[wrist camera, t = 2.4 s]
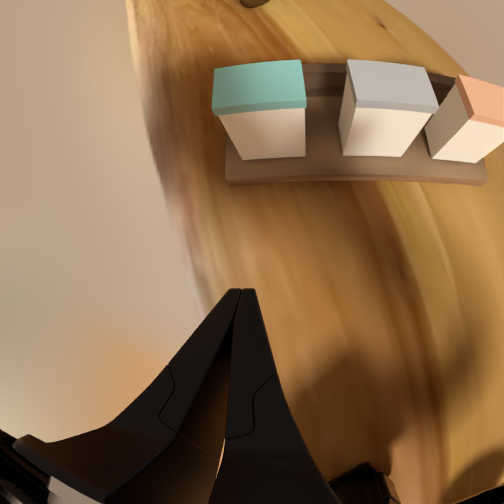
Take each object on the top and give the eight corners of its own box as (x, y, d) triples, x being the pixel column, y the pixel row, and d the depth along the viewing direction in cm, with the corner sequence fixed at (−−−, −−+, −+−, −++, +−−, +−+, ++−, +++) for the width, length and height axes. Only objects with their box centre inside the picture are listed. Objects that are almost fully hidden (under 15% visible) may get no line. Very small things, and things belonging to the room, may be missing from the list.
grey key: (402, 158, 20) (439, 107, 12) (341, 156, 21) (356, 99, 13) (395, 124, 20) (424, 67, 12) (337, 122, 21) (346, 59, 13)
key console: (480, 185, 20) (508, 169, 15) (229, 185, 24) (211, 164, 19) (460, 109, 21) (479, 84, 16) (231, 103, 25) (216, 72, 20)
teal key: (306, 157, 21) (306, 100, 14) (241, 161, 22) (211, 109, 14) (303, 123, 22) (300, 59, 14) (241, 127, 23) (214, 68, 15)
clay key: (476, 164, 19) (524, 127, 11) (430, 159, 20) (474, 113, 12) (468, 133, 19) (509, 89, 11) (423, 126, 20) (458, 74, 12)
